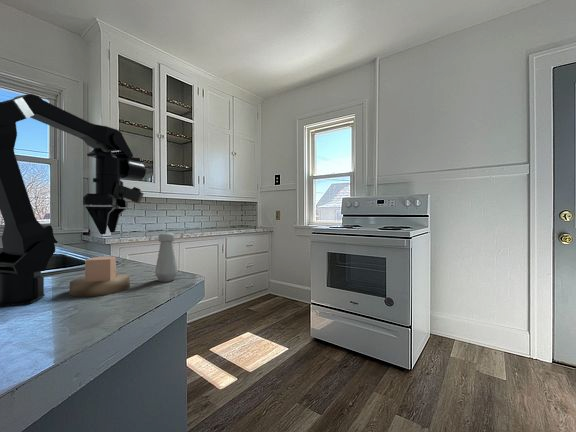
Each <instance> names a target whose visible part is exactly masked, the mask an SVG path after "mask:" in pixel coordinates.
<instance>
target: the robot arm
mask: <svg viewBox="0 0 576 432" xmlns="http://www.w3.org/2000/svg"><path fill="white" fill-rule="evenodd" d="M29 118H31V119H33V120H36V121H38V122H40V123H43V124H45V125H46V126H47V125H48V126H50V127H53V128H55V129H57V130H60V131H62V132H64V133H67V134H69V135H72V136H74V137H77V138H78V139H81V140H82V141H83V142H84V143H85V144H86V145H87V146H88V147H91V149H93V150H91V151H90V152H87V154H86V155H87V157H90V158H93V159H95V177H93V178H92V183H95V187H94V189H95V190H94V191H95V192H94V193H89V192H88V193H87V192H86V194H85V195H84V196H83V198H82V205H84V206H85V210H87V212H88V214H89V215H90V217H91V218H92V221H93V223H94V224H95V226H96V228H97V230H98V232H99V234H100V235H106V234H107V229H108V230H109V232H110V233H113V234H114V233H115V232H116V228H117V226H118V222H119V219H120V216H121V214H123V212H125V211H126V210H127V208H129V204H128V203H129V201H128V200H130V201H131V202H133V203H136V204H141V203H142V202H141V201H142V199H143V198H144V193H143V192H142V191H141V190H142V189H141V188H139V187H136V186H134V187H133V188H130V187H127V186H124V182H123V180H121V179H124V180H125V179H126V180H132V181H141V180H143V179H144V178H145V176H146V173H147V172H146V171H147V169H146V168H145V167H146V166H145V165H144V163H143V162H141V158H140V157H134V154H133V152H132V150H131V149H130V147H129V145H128V143H127V141H126V139H125V137H124V136H123V133H122V132H121V131H120V130H119V129H117V128H114V127H111V126H107V125H100V124H96V123H92V122H90V121H88V120H85V119H83V118H81V117H79V116H77V115H75V114H73V113H71V112H69V111H67V110H65V109H63V108H61V107H58V106H57V105H54V104H52V103H50V102H48V101H46V100H44V99H43V98H42V97H40V96H38V95H36V94H33V93H27V94H22V95H17V96H15V97H13V98H10V99H8V100H4V101H0V214H1V216H2V219H3V220H2V221H3V223H4V227H3V230H2V236H1V243H2V250H1V251H0V307H9V306H10V307H11V306H21V305H30V304H32V303H34V302H36V301H38V300H41V298H44V297H45V296H46V294H45V292H44V291H45V284H44V283H45V280H44V279H45V277H44V276H43V275H42V272H44V271H46V270H47V267H48V263H49V261H50V259H51V258H52V257H53V255H54V254H55V252H56V245H55V244H58V240H56V238H55V236H54V229H53V227H52V225H50V224H49V225H48V224H46V225H45V224H44V225H43V224H41V223H40V222H39V221H38V220H37V218H36V216H35V212H34V209H33V206H32V203H31V201H30V197H29V194H28V191H27V187H26V184H25V180H24V178H23V175H22V172H21V169H20V166H19V163H18V160H17V156H16V154H15V145H16V141H17V137H18V132H17V122H20V121H24V120H26V119H29Z"/></svg>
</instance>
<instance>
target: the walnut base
mask: <svg viewBox="0 0 576 432" xmlns="http://www.w3.org/2000/svg"><path fill="white" fill-rule="evenodd" d="M130 279H131V276H130V275H129V274H124V273H123V274H122V273H116V277H114V278H113V279H112V280H110V281H96V282H85V276H84V277H83V276H82V277H80V278H79V277H78V278H76V279H73V280H70V281H69V295H70V296H73V297H84V298H85V297H97V296H107V295H111V294H115V293H121V292H123V291H126V290H128V289H130V288H131V287H130V286H131V284H130V283H131V280H130Z"/></svg>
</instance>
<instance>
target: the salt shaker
mask: <svg viewBox="0 0 576 432" xmlns="http://www.w3.org/2000/svg"><path fill="white" fill-rule="evenodd" d="M175 239H176V236H175V234H174V233H173V232H162V233H159V234H158V237H157V241H158V242H160V243H159V250H158V255H157V260H156V266H155V271H154V273H155V276H156V278H157V280H158V281H159V282H172V280H173V281H174V280H175V279H176V276H177V274H178V273H179V270H178V266H177V265H178V264H177V259H176V253H175V248H174V243H173V242H174V241H176V240H175Z"/></svg>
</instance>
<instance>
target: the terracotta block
mask: <svg viewBox="0 0 576 432" xmlns="http://www.w3.org/2000/svg"><path fill="white" fill-rule="evenodd" d="M84 261H85V262H84V277H85V282H96V281H110V280H112V279H113V278H114V277H116V274H117V271H116V269H117V268H116V267H117V266H116V265H117V263H116V262H117V260H116V256H97V257H96V256H95V257H89V258H88V259H85V260H84Z"/></svg>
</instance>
